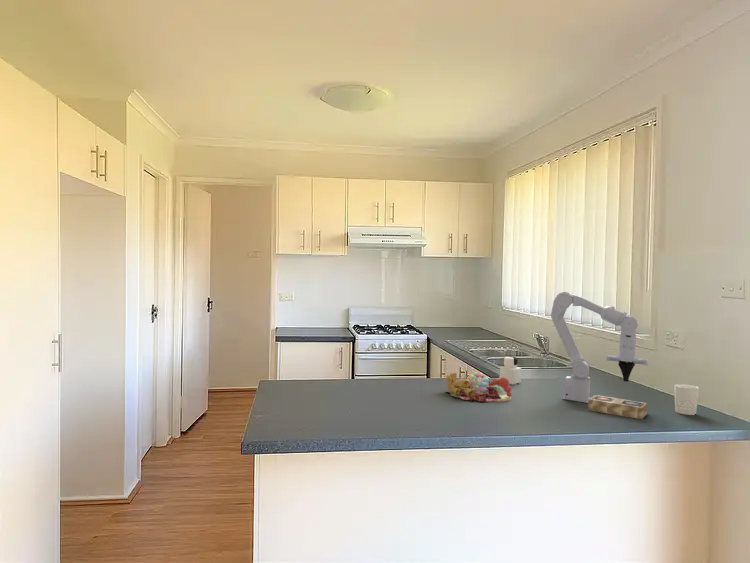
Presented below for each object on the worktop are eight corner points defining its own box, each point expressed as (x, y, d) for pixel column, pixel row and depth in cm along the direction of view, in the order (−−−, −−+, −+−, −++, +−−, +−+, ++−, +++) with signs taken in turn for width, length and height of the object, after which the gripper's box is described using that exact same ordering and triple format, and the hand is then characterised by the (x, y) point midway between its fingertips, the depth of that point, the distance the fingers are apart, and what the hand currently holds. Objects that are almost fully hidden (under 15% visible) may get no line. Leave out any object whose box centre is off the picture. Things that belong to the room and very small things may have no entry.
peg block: (588, 409, 192) (588, 399, 192) (594, 405, 200) (595, 394, 200) (641, 419, 182) (642, 407, 181) (646, 413, 190) (647, 402, 190)
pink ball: (595, 408, 193) (595, 398, 193) (598, 406, 197) (598, 396, 197) (607, 411, 191) (608, 400, 191) (610, 408, 194) (610, 398, 194)
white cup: (701, 416, 189) (702, 389, 189) (678, 414, 190) (679, 387, 190) (692, 411, 197) (693, 384, 197) (669, 409, 198) (671, 383, 198)
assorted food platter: (468, 405, 194) (469, 380, 194) (435, 391, 215) (436, 369, 215) (520, 400, 204) (521, 377, 204) (484, 388, 226) (485, 367, 226)
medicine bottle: (507, 380, 243) (508, 355, 243) (521, 383, 238) (522, 357, 238) (498, 382, 238) (500, 356, 238) (512, 385, 233) (513, 358, 233)
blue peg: (624, 414, 187) (624, 403, 187) (626, 411, 191) (627, 401, 191) (637, 416, 185) (638, 405, 185) (639, 413, 188) (640, 403, 188)
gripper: (605, 345, 203) (603, 379, 203) (646, 349, 194) (644, 385, 195) (609, 343, 209) (607, 377, 209) (649, 347, 200) (648, 382, 200)
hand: (625, 381), depth 202 cm, fingers closed
